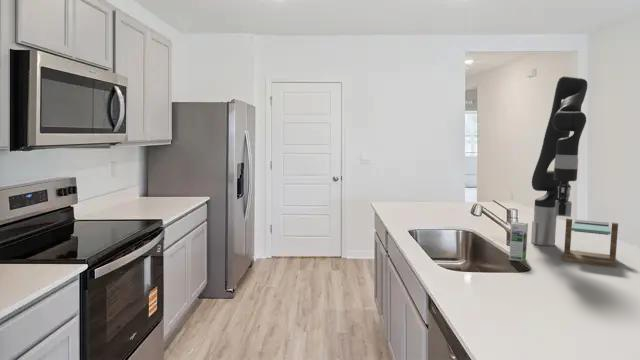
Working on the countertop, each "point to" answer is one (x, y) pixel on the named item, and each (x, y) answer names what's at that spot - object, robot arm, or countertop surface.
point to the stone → (568, 209)
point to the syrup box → (518, 241)
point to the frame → (588, 256)
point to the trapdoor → (591, 227)
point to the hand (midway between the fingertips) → (562, 213)
